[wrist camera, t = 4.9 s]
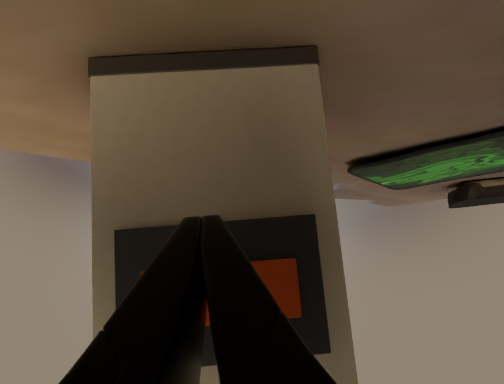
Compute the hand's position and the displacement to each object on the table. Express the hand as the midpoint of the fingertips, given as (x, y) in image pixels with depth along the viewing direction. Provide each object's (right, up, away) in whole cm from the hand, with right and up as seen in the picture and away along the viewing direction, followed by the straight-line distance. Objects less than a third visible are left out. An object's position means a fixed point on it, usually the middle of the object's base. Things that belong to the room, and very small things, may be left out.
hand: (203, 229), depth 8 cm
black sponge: (+43, +3, +50) cm, 66 cm away
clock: (-1, +6, +8) cm, 10 cm away
